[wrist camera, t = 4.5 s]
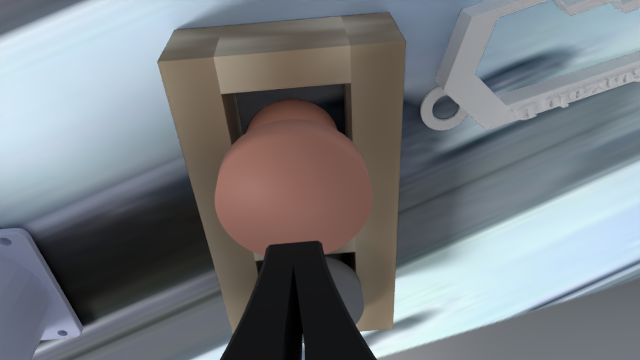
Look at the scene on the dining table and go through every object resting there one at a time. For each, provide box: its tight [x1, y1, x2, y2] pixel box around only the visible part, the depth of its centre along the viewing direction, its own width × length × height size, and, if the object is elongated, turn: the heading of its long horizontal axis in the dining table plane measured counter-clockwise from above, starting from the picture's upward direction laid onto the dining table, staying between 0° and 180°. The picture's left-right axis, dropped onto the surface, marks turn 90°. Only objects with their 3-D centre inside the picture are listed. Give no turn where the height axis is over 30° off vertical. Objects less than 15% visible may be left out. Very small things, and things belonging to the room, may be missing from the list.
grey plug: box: [302, 253, 364, 343], centre depth 23 cm, size 5×5×4 cm
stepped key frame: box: [420, 0, 640, 131], centre depth 19 cm, size 13×5×2 cm, turn 108°
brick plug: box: [215, 99, 373, 256], centre depth 16 cm, size 5×5×4 cm
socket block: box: [157, 12, 406, 334], centre depth 21 cm, size 8×15×3 cm, turn 3°
